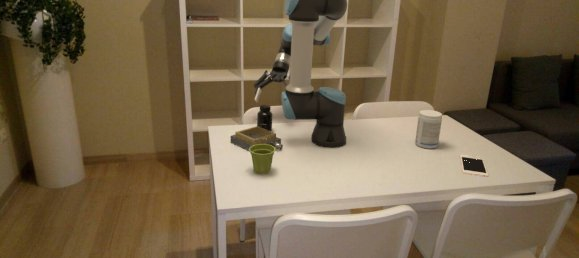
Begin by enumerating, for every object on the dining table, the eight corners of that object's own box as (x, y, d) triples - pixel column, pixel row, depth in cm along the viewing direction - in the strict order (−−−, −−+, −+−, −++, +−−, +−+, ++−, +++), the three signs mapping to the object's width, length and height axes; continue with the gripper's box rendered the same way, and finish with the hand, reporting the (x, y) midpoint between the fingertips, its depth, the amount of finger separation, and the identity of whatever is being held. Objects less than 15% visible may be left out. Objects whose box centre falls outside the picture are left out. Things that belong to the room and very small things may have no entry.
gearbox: (287, 148, 180) (288, 137, 178) (262, 157, 170) (262, 145, 168) (255, 134, 193) (255, 124, 191) (230, 142, 183) (230, 131, 182)
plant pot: (265, 178, 153) (265, 156, 150) (243, 171, 157) (243, 149, 154) (279, 169, 160) (280, 147, 157) (259, 163, 165) (259, 141, 162)
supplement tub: (442, 146, 188) (447, 114, 183) (427, 151, 183) (432, 117, 178) (424, 139, 195) (429, 108, 190) (409, 143, 190) (414, 111, 185)
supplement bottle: (260, 134, 193) (260, 109, 189) (254, 129, 199) (254, 104, 195) (274, 132, 196) (275, 107, 192) (268, 128, 202) (268, 103, 198)
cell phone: (482, 159, 178) (482, 157, 177) (487, 177, 161) (488, 175, 161) (459, 156, 180) (459, 154, 180) (462, 174, 164) (463, 171, 163)
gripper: (308, 71, 208) (296, 110, 200) (260, 66, 215) (247, 103, 207) (305, 62, 201) (293, 102, 193) (255, 57, 209) (242, 95, 201)
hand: (269, 103), depth 200 cm, fingers open, 13 cm apart
